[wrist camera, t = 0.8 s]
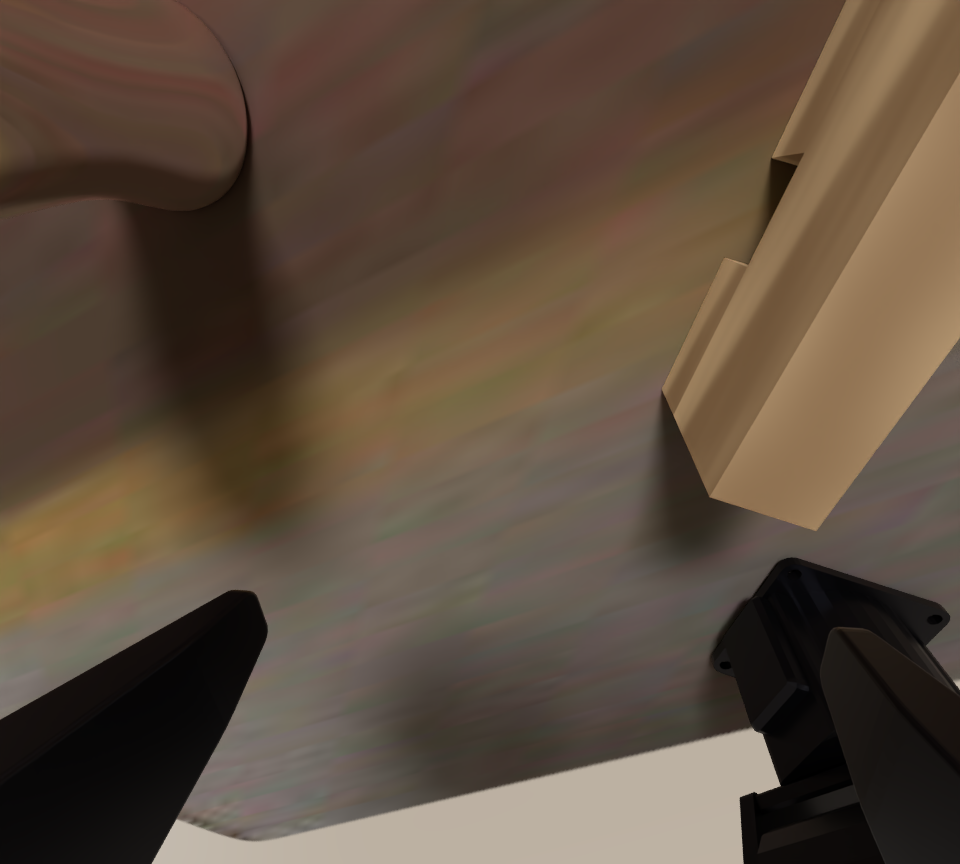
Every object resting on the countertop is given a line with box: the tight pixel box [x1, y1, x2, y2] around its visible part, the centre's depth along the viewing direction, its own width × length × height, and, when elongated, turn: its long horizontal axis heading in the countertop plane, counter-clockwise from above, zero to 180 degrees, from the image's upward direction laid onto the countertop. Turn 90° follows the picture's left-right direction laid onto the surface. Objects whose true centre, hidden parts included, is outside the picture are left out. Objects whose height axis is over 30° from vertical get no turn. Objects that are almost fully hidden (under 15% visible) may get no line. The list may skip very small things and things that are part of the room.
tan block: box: [662, 0, 960, 531], centre depth 12 cm, size 2×12×7 cm, turn 165°
